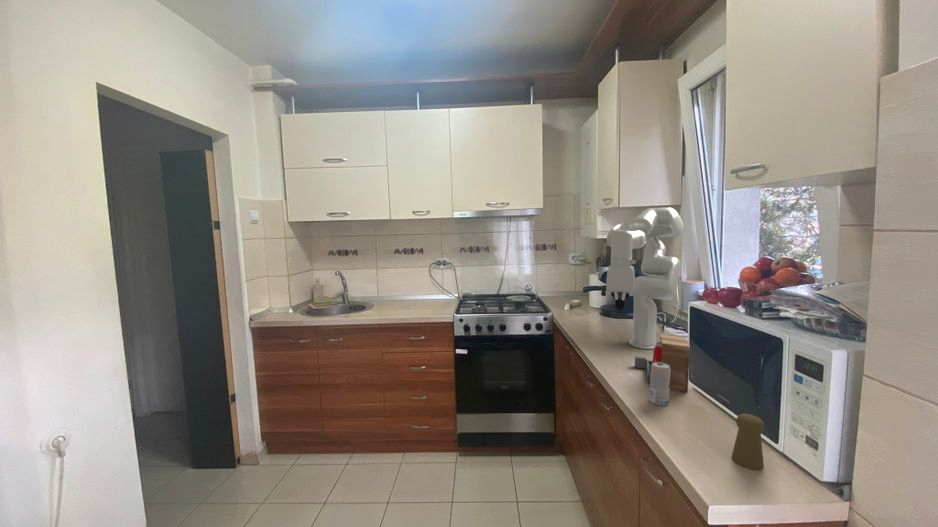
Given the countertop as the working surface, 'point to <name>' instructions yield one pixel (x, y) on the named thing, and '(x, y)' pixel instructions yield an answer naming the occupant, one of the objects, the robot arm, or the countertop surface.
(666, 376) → the energy drink
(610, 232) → the robot arm
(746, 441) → the cork
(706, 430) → the countertop surface
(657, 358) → the soda can
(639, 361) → the tray
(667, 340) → the wooden crate
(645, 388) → the countertop surface
